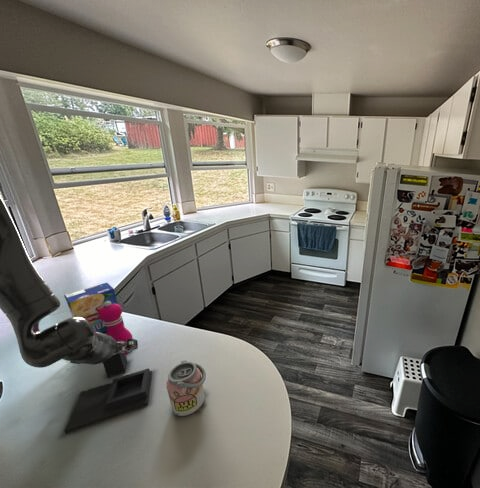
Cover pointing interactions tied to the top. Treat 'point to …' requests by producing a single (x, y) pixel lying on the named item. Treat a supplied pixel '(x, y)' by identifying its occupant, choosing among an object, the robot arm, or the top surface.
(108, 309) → the pepper mill
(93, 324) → the beverage box
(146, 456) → the top surface
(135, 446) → the top surface
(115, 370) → the black tall rectangular block
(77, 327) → the robot arm
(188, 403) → the beverage can
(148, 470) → the top surface
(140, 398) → the base pad
